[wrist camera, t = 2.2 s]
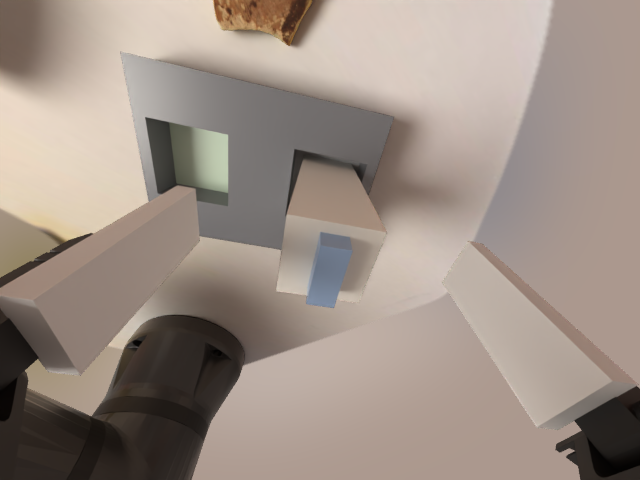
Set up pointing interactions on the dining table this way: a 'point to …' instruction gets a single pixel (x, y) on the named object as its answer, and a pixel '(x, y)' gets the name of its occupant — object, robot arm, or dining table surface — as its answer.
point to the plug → (329, 235)
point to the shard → (262, 16)
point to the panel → (240, 144)
